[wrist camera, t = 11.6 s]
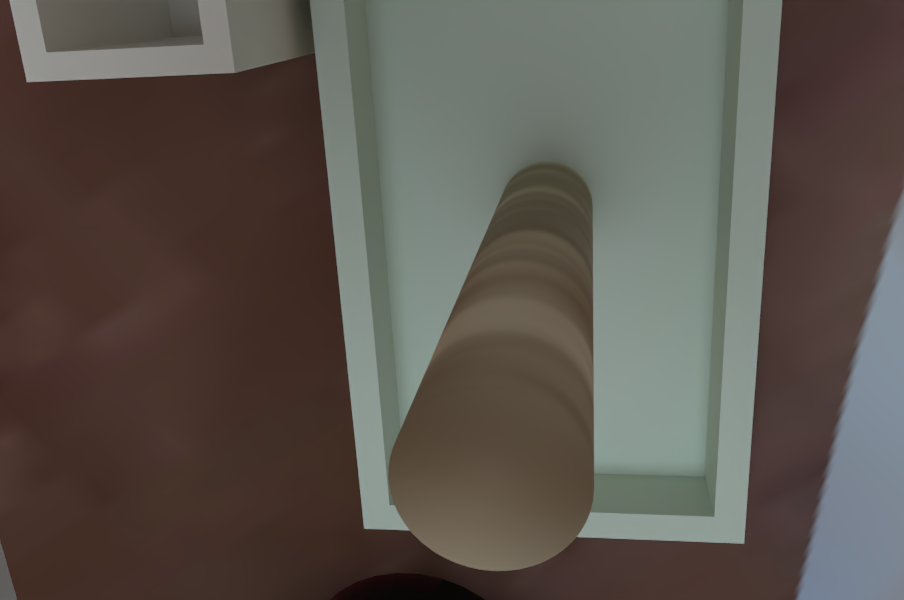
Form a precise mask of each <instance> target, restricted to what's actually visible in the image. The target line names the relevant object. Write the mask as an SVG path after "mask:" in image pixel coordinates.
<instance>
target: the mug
mask: <svg viewBox="0 0 904 600" xmlns="http://www.w3.org/2000/svg"><path fill="white" fill-rule="evenodd" d="M331 600H484V599H483V598H481V597H479V596H478V595H476V594H474V593H473V592H471V591H469V590H467V589H466V588H464V587H462V586H459V585H456V584H454V583H451V582H449V581H446V580H443V579H440V578H435V577H430V576H425V575H421V574H401V573H396V574H388V575H380V576H374V577H371V578H368V579H365V580H362V581H359V582H356V583H354V584H352V585H351V586H349V587H347V588H345V589H344V590H342V591H340V592H339V593H337V594H336V595H335V596H334V597H333V598H332V599H331Z"/></svg>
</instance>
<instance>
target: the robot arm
mask: <svg viewBox="0 0 904 600" xmlns="http://www.w3.org/2000/svg"><path fill="white" fill-rule="evenodd" d="M0 600H17V598H16V595H15V591H14V588H13V584H12V581H11V577H10V574H9V570H8V567H7V563H6V560H5V556H4V553H3V550H2V546H1V543H0Z"/></svg>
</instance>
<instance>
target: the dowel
mask: <svg viewBox="0 0 904 600" xmlns="http://www.w3.org/2000/svg"><path fill="white" fill-rule="evenodd" d="M388 481H389V487H390V493H391V496H392V499H393V502H394V505H395V507H396V509H397V511H398V514H399V515H400V517H401V519H402V520H403V522H404V523H405V525H406V526H407V527H408V529H409V530H410V531H411V532H412V533H413V535H414V536H416V537H417V538H418V539H419V540H420V541H421V542H422V543H423V544H424V545H426V546H427V547H428V548H430V549H431V550H432V551H434V552H435V553H437V554H439V555H440V556H442V557H444V558H446V559H448V560H451V561H453V562H455V563H458V564H461V565H464V566H467V567H471V568H476V569H480V570H489V571H509V570H518V569H522V568H527V567H531V566H534V565H536V564H539V563H542V562H544V561H546V560H548V559H550V558H552V557H554V556H555V555H557V554H558V553H560V552H561V551H562V550H564V549H565V548H566V547H567V546H568V545H569V544H570V543H571V542H573V540H574V539H575V538H576V537H577V535H578V534H579V533H580V532H581V530H582V528H583V527H584V525H585V523H586V521H587V519H588V516H589V514H590V511H591V507H592V503H593V497H594V365H593V204H592V197H591V193H590V190H589V188H588V186H587V184H586V183H585V181H584V180H583V178H582V177H581V176H580V175H579V174H578V173H576V172H575V171H574V170H572V169H571V168H569V167H567V166H565V165H562V164H559V163H555V162H539V163H534V164H531V165H528V166H526V167H524V168H523V169H521V170H520V171H518V172H517V173H516V174H515V175H514V176H513V177H512V178H511V179H510V180H509V182H508V184H507V185H506V187H505V189H504V191H503V194H502V196H501V198H500V201H499V203H498V205H497V208H496V210H495V212H494V215H493V217H492V219H491V222H490V224H489V226H488V228H487V231H486V233H485V235H484V238H483V240H482V242H481V245H480V247H479V249H478V252H477V254H476V256H475V259H474V261H473V263H472V265H471V268H470V270H469V272H468V275H467V277H466V279H465V282H464V284H463V286H462V289H461V291H460V293H459V295H458V298H457V300H456V302H455V305H454V307H453V309H452V312H451V314H450V316H449V319H448V321H447V323H446V326H445V328H444V330H443V332H442V335H441V337H440V339H439V342H438V344H437V346H436V349H435V351H434V353H433V356H432V358H431V360H430V362H429V365H428V367H427V369H426V372H425V374H424V376H423V379H422V381H421V383H420V386H419V388H418V390H417V393H416V395H415V397H414V399H413V402H412V404H411V406H410V409H409V411H408V413H407V416H406V418H405V420H404V423H403V425H402V427H401V429H400V432H399V434H398V436H397V439H396V441H395V443H394V446H393V449H392V452H391V455H390V460H389V468H388Z"/></svg>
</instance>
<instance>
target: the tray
mask: <svg viewBox="0 0 904 600" xmlns="http://www.w3.org/2000/svg"><path fill="white" fill-rule="evenodd" d="M310 7H311V17H312V27H313V37H314V46H315V56H316V66H317V75H318V85H319V95H320V104H321V114H322V124H323V134H324V143H325V153H326V163H327V172H328V182H329V192H330V201H331V211H332V221H333V231H334V240H335V250H336V260H337V269H338V279H339V289H340V299H341V308H342V318H343V328H344V337H345V347H346V357H347V366H348V376H349V386H350V396H351V405H352V415H353V425H354V434H355V444H356V454H357V463H358V473H359V483H360V493H361V502H362V512H363V522H364V529H388V530H409V529H408V527H407V526H406V525H405V523H404V522H403V520H402V519H401V517H400V515H399V514H398V511H397V509H396V507H395V505H394V502H393V499H392V496H391V493H390V487H389V481H388V468H389V460H390V455H391V452H392V449H393V446H394V443H395V441H396V439H397V436H398V434H399V432H400V429H401V427H402V425H403V423H404V420H405V418H406V416H407V413H408V411H409V409H410V406H411V404H412V402H413V399H414V397H415V395H416V393H417V390H418V388H419V386H420V383H421V381H422V379H423V376H424V374H425V372H426V369H427V367H428V365H429V362H430V360H431V358H432V356H433V353H434V351H435V349H436V346H437V344H438V342H439V339H440V337H441V335H442V332H443V330H444V328H445V326H446V323H447V321H448V319H449V316H450V314H451V312H452V309H453V307H454V305H455V302H456V300H457V298H458V295H459V293H460V291H461V289H462V286H463V284H464V282H465V279H466V277H467V275H468V272H469V270H470V268H471V265H472V263H473V261H474V259H475V256H476V254H477V252H478V249H479V247H480V245H481V242H482V240H483V238H484V235H485V233H486V231H487V228H488V226H489V224H490V222H491V219H492V217H493V215H494V212H495V210H496V208H497V205H498V203H499V201H500V198H501V196H502V194H503V191H504V189H505V187H506V185H507V184H508V182H509V180H510V179H511V178H512V177H513V176H514V175H515V174H516V173H517V172H518V171H520V170H521V169H523V168H524V167H526V166H528V165H531V164H534V163H539V162H555V163H559V164H562V165H565V166H567V167H569V168H571V169H572V170H574V171H575V172H576V173H578V174H579V175H580V176H581V177H582V178H583V180H584V181H585V183H586V184H587V186H588V188H589V190H590V193H591V197H592V204H593V365H594V497H593V503H592V507H591V511H590V514H589V516H588V519H587V521H586V523H585V525H584V527H583V528H582V530H581V532H580V533H579V534H578V535H577V537H590V538H615V539H640V540H666V541H691V542H716V543H742V544H744V537H745V523H746V509H747V494H748V480H749V466H750V452H751V438H752V423H753V409H754V395H755V381H756V367H757V352H758V338H759V324H760V310H761V296H762V281H763V267H764V253H765V239H766V225H767V211H768V196H769V182H770V168H771V154H772V140H773V125H774V111H775V97H776V83H777V69H778V54H779V40H780V26H781V12H782V0H310Z"/></svg>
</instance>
